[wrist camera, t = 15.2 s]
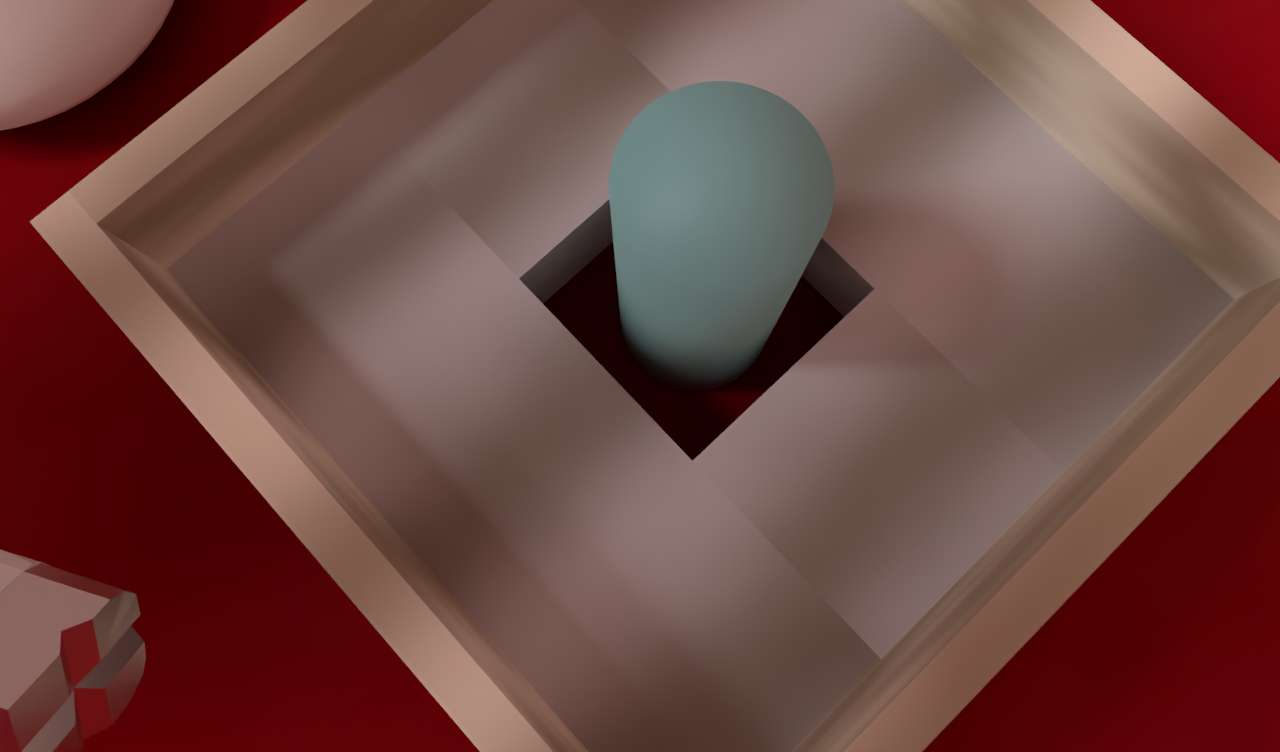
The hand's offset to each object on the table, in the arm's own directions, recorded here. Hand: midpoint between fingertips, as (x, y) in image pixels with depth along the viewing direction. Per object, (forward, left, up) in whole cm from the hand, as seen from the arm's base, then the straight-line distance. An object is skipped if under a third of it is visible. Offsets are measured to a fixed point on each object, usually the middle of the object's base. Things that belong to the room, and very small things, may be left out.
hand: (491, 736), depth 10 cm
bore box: (-4, +8, -14) cm, 17 cm away
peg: (-4, +8, -14) cm, 17 cm away
